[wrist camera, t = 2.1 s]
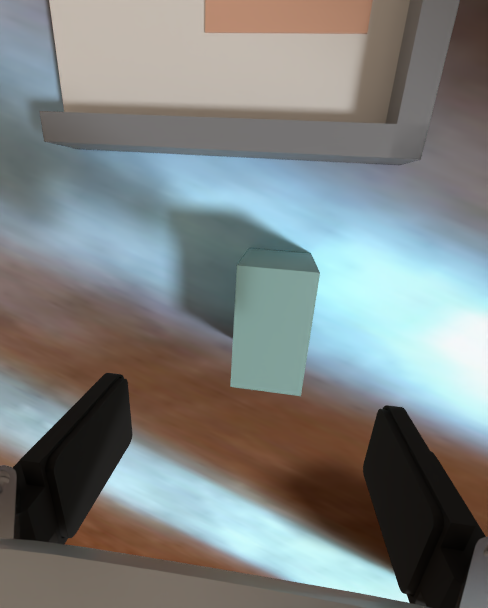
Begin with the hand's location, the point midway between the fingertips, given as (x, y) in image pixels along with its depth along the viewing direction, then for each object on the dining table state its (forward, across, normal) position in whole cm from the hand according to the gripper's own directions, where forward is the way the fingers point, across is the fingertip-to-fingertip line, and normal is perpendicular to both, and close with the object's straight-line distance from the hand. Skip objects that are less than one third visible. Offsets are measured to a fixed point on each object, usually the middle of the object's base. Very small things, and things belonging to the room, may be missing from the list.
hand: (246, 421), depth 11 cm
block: (+13, -1, 0) cm, 13 cm away
